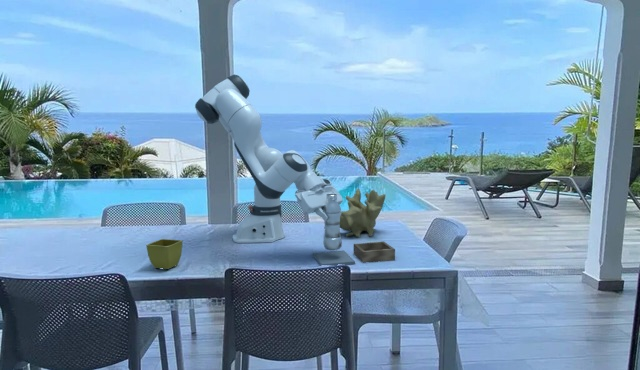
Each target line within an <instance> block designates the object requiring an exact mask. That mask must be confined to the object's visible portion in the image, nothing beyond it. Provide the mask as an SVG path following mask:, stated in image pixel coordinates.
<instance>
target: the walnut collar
mask: <svg viewBox="0 0 640 370" xmlns="http://www.w3.org/2000/svg"><path fill="white" fill-rule="evenodd" d="M353 255H354V256H355V257H356V258H357V259H358V260H359V261H360V262H361V263H362V262H363V263H362V264H366V262H369V263H376V262H377V263H378V261H380V262H389V261H390V262H391V261H396V249H395V248H394V247H392V245H390V244H388V243H387V242H385V241H373V242H371V241H370V242H360V243H353Z"/></svg>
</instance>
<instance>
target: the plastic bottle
mask: <svg viewBox="0 0 640 370" xmlns="http://www.w3.org/2000/svg"><path fill="white" fill-rule="evenodd" d="M326 200H327V202H326V203H325V206H323V210H322V211H323V212H324V213H325V214H328V216H329V219H328V220H325V221H324V220H323V222H324V227H325V229H324V234H323V235H324V236H323V247H324V248H325V250H328V251H339V250H340V249H342V245H343V244H342V243H343V241H342V236H341V235H342V234H341V228H340V214H341V211H342V207H341V204H340V205H339V204H338V203H337V201H336V200H337V194H327V195H326Z"/></svg>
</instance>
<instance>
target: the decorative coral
mask: <svg viewBox="0 0 640 370" xmlns="http://www.w3.org/2000/svg"><path fill="white" fill-rule="evenodd" d="M364 196H365V198H366V200H365V201H364V203H363V202H361V199H362V193H361V190H360V188H357V189H356V190H355V193H354V195H353V196H352V197H351V196H349V195H346V196H345V200H346V201H347V205H348V209H347V210H346V211H345V210H343V211H342V210H341V215H340V230H341V229H342V230H343V231H349V232H347V233H346V237H347V238H349V237H351V236H355V237H357V238H359V237H361V233H362V232H364V231H365V232H367V233H368V236H369V238H371V237H373V235H374V234H373V233H374V232H375V231H376V228H375V227H376V223H377V221H376V220H377V218H378V217H379V215H380V213H381V211H382V210H383V206H384V204H385V203H384V202H385V201H386V193H384V194H381V195H379V194H378V192H377V191H376V190H374V189H371V190H370V191H369V192H365V194H364ZM324 230H325V226H324ZM350 231H351V232H350Z"/></svg>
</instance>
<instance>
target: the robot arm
mask: <svg viewBox="0 0 640 370" xmlns="http://www.w3.org/2000/svg"><path fill="white" fill-rule="evenodd" d="M248 85H249V84H248V83H247V81H246V80H245V79H244V78H242V77H241V76H239V75H238V74H231V75H229V76H227V77H226V79H224V80H222V81H221V82H218V83H217V84H216V85H215V86H214V85H213V87H212V88H211V89H210V90H209V91H208V92H206V94H204V95H203V96H202V98H199V99H198V100H197V101H196V102H195V105H194V106H195V107H194V109H195V111H196V114H197V115H198V117H199V118H200V120H202V121H203V122H204V123H207V124H210V125H213V124H215V123H218V122H220V124H221V125H222V126H223V128H224V130H225V131H226V132H227V133H228V135H229V136H230V137H231V138H232V140H233V141H234V142H233V145H234V147H235V150H236V152H237V154H238V155H239V157H240V159H241V160H242V162H243V164H244V166H245V168H246V169H247V171H248V172H249V174H250V175H251V177H252V178H253V181H254V187H253V194H254V195H253V198H254V204H253V205H251V204H250V205H248V210H249V215H248V216H246V217H245V218H244V219H243V220H242V221H240V223H239V224H238V227H237V231H236V233H234V234H233V235H232V241H233V242H234V243H237V244H238V243H239V244H242V243H243V244H247V243H248V244H249V243H273V242H276V241H278V240H281V239H283V238H285V237H286V233H285V232H284V228H283V223H282V215H283V212H282V211H283V210H282V209H283V208H282V204H281V197H282V195H283V194H284V193H285V192H286V190H287V189H288V188H290V186H291V185H293V184H294V186H295V188H296V189H297V190H296V191H295V193H294V196H295V198H296V200H297V203H298V206H299V207H300V209H301V210H302V212H303V213H304V214H306V215H309V214H313V213H315V214H316V215H317V216H318V217H320V218H321V219H322V220H323V222H324V221H325V220H328V219H329V216H328V214H325V213H324V212H323V206H325V203H326V202H327V200H326V195H327V194H337V200H336V201H337V203H338V204H339V205H340V206H341V204H342V203H343V202H344V201H343V200H344V199H343V196H342V195H341V193H340V192H339V191H338V189H337V188H336V187H335V186H333V184H332V183H333V182H332V181H331V180H330V179H329V178H328V179H327V178H322V177H321V176H318V175H317V174H316V173H315V171H313V170H312V168H311V166H310V164H309V163H308V162H307V160H305V158H304V157H303V156H302V155H301V154H300V153H299V152H298V151H296V150H294V149H292V150H291V149H290V150H288V151H285V152H284V153H283V152H282V151H280V150H279V149H277V148H274V147H270V146H269V145H267V143H266V141H265V140H264V137H263V135H262V132H261V129H262V116H261V115H260V113H259V112H258V110H257V109H256V108H255V106H253V104H252V103H251V102H250V101H248V98H249V96H250V92H251V91H250V88H249V86H248ZM340 215H341V214H340Z"/></svg>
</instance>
